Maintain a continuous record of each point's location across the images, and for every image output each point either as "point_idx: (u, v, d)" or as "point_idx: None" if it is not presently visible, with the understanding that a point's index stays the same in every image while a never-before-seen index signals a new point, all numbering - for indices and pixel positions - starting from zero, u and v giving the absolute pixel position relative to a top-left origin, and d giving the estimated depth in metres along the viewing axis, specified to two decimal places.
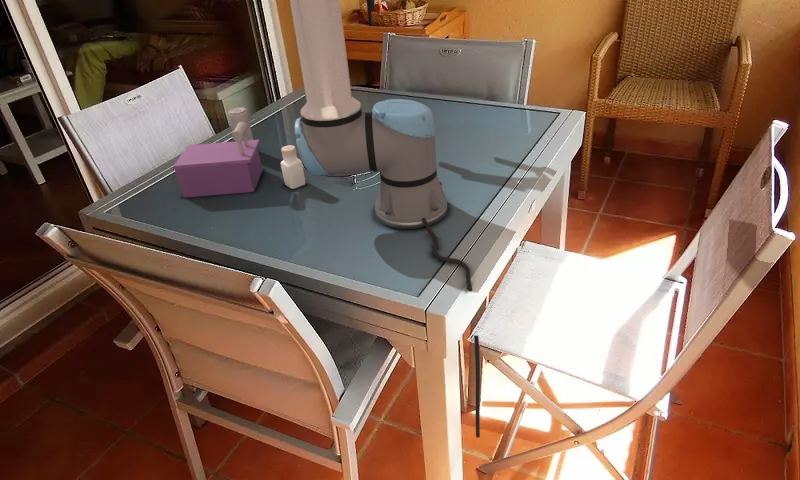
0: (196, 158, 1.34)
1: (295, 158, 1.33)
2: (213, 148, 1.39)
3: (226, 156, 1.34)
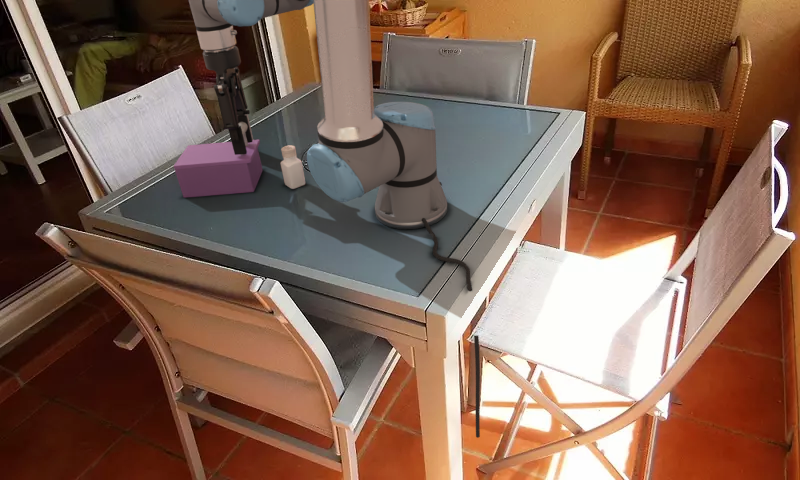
0: (196, 158, 1.34)
1: (295, 158, 1.33)
2: (213, 148, 1.39)
3: (226, 156, 1.34)
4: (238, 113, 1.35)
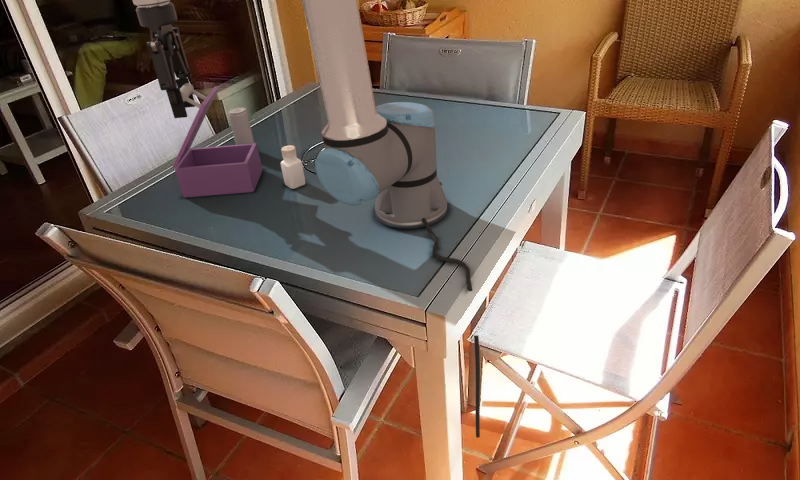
0: None
1: (295, 158, 1.33)
2: None
3: None
4: (179, 76, 1.30)
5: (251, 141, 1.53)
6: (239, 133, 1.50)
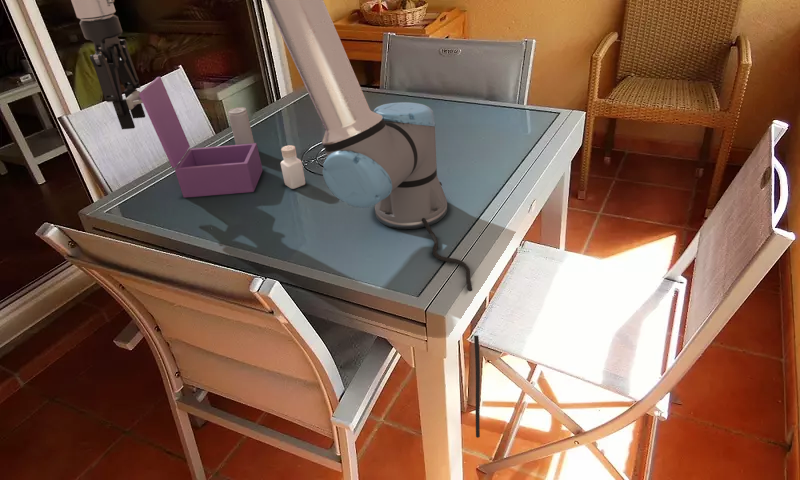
0: None
1: (295, 158, 1.33)
2: None
3: None
4: (127, 87, 1.31)
5: (251, 141, 1.53)
6: (239, 133, 1.50)
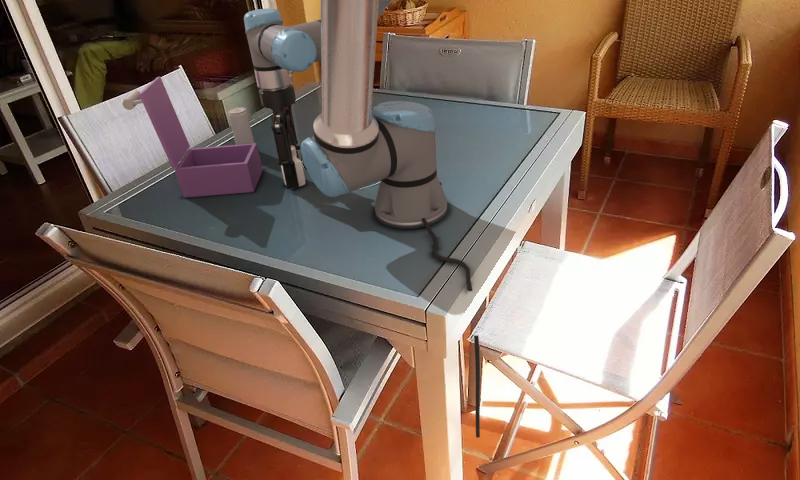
0: None
1: (295, 158, 1.33)
2: None
3: None
4: None
5: (251, 141, 1.53)
6: (239, 133, 1.50)
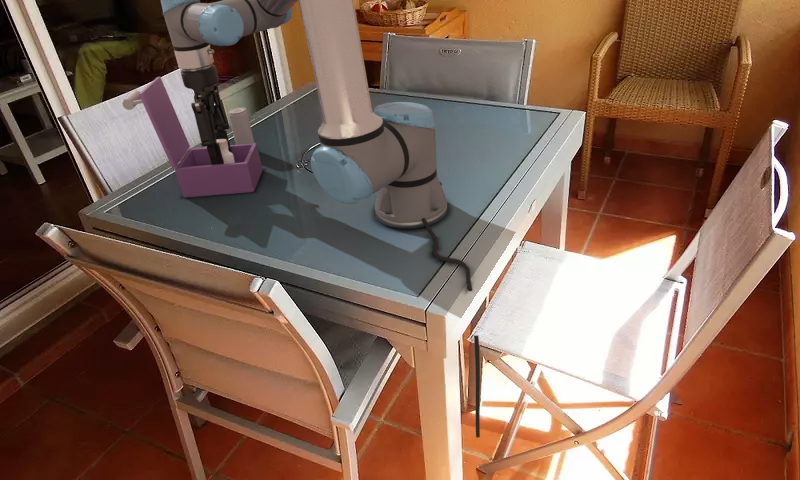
0: None
1: (226, 150, 1.36)
2: None
3: None
4: (218, 128, 1.37)
5: (251, 141, 1.53)
6: (239, 133, 1.50)
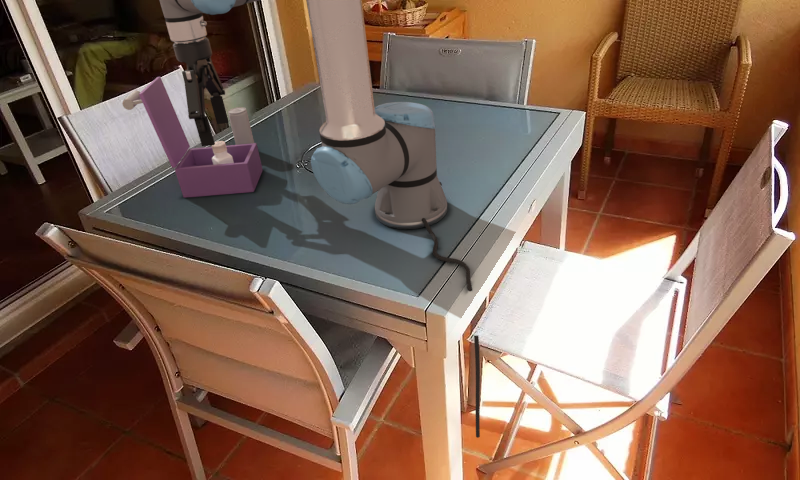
0: None
1: (225, 153, 1.36)
2: None
3: None
4: (213, 94, 1.36)
5: (251, 141, 1.53)
6: (239, 133, 1.50)
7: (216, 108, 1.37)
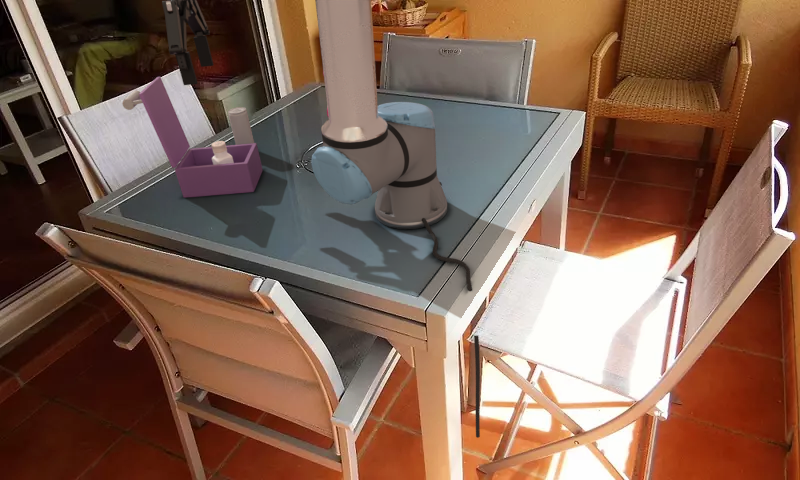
0: None
1: (225, 153, 1.36)
2: None
3: None
4: (197, 33, 1.28)
5: (251, 141, 1.53)
6: (239, 133, 1.50)
7: (200, 49, 1.30)
